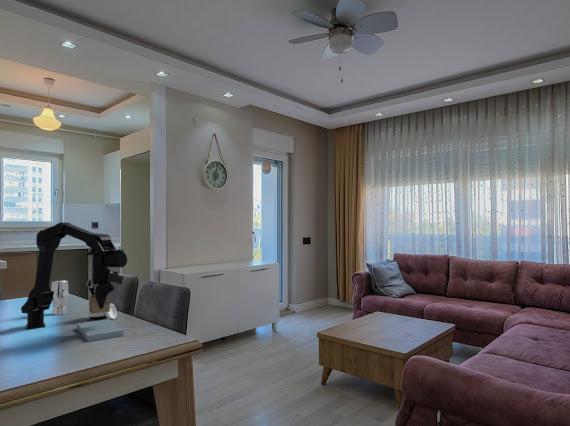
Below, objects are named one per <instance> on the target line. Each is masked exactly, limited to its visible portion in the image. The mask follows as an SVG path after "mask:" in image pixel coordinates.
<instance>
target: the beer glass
mask: <svg viewBox="0 0 570 426" xmlns="http://www.w3.org/2000/svg"><path fill="white" fill-rule="evenodd" d="M50 289H51V291H54V295H53V301H52V313H51V314H52V315H54V316H60V315H61V316H62V315H65V314H67V313H68V310H67V301H68V296H69V280H64V279H63V280H62V279H61V280H55V281H51V287H50Z"/></svg>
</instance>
